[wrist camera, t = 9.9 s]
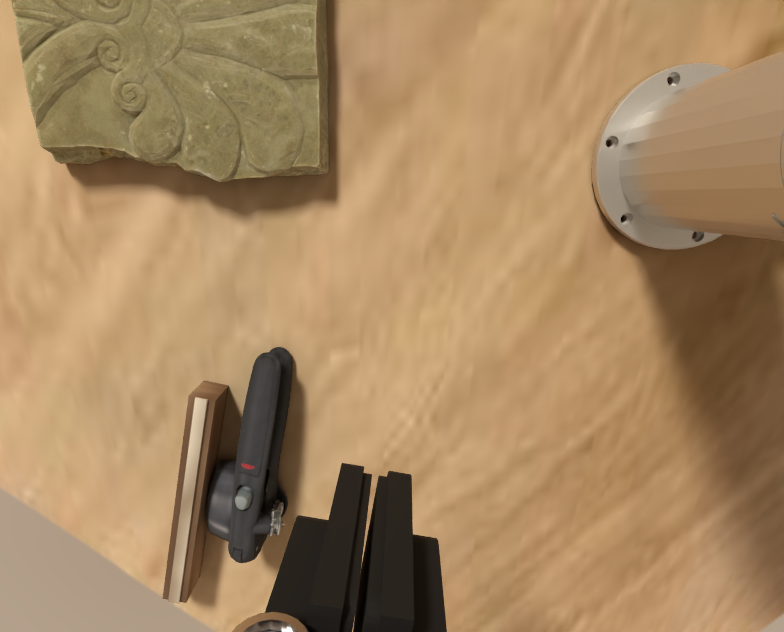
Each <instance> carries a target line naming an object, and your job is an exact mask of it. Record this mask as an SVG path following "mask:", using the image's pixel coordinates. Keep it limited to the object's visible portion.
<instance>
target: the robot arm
mask: <svg viewBox="0 0 784 632" xmlns="http://www.w3.org/2000/svg"><path fill="white" fill-rule="evenodd" d="M667 79H669V81H670V82H669V84H668V82H667ZM606 140H608V141H609V142H610V145H609V147H607V146H606ZM592 183H593V188H594V193H595V197H596V199H597V202H598V204H599V206H600V209H601V211H602V212H603V214H604V215H605V217H606V218H607V220H608V221H609V223H610V224H611V225H612V226H613V227H614V228H615V229H616V230H618V231H619V232H620V233H621V234H622V235H624V236H625V237H627V238H629V239H630V240H632V241H634V242H636V243H639V244H642V245H645V246H648V247H653V248H658V249H667V250H681V249H687V248H693V247H697V246H700V245H703V244H706V243H709V242H711V241H713V240H715V239H717V238H719V237H720V236H722V235H724V234H726V235H734V236H743V237H752V238H760V239H769V240H778V241H784V51H781V52H778V53H776V54H773V55H770V56H768V57H765V58H762V59H760V60H757V61H754V62H752V63H749V64H746V65H744V66H741V67H738V68H736V69H733V70H731V69H729V68H726V67H724V66H721V65H716V64H709V63H690V64H682V65H679V66H675V67H671V68H668V69H665V70H663V71H661V72H658V73H656V74H654V75H652V76H650V77H648V78H647V79H645V80H644V81H642V82H640V83H639V84H637V85H636V86H634V87H633V88H632V89H631V90H630V91H629V92H628V93H626V94H625V95H624V96H623V97H622V98H621V99H620V100H619V102H618V103H617V104H616V105H615V107H614V108H613V109H612V110H611V112H610V113H609V115H608V117H607V118H606V120H605V122H604V124H603V125H602V127H601V129H600V132H599V135H598V138H597V141H596V143H595V147H594V153H593V159H592ZM622 215H623V216H624V220H623V221H622V222H621V217H622ZM693 233H694V235H693V237H692V234H693ZM363 471H364V467H363V466H357V465H351V464H345V463H342V465H341V469H340V473H339V477H338V482H337V486H336V490H335V495H334V499H333V503H332V507H331V512H330V516H329V520H323V519H317V518H311V517H305V516H299V515H298V516H297V518H296V521H295V524H294V527H293V530H292V533H291V536H290V539H289V542H288V545H287V548H286V551H285V554H284V557H283V560H282V563H281V566H280V569H279V572H278V575H277V578H276V581H275V584H274V587H273V590H272V593H271V596H270V599H269V602H268V605H267V608H266V611H265V613H260V614H257V615H255V616H252V617H250V618H247V619H246V620H245V621H243V622H242V623H241V624H239V625H238V626H236V628H235V629H234V630H233V632H352V628H353V623H354V629H353V632H447V630H446V619H445V608H444V597H443V586H442V576H441V565H440V554H439V544H438V540H437V538H431V537H425V536H419V535H413V529H412V479H411V475H410V474H404V473H399V472H393V471H389V472H388V475H387V477H384V476H379V478H378V482H377V488H376V493H375V498H374V504H373V509H372V514H371V520H370V525H369V530H368V535H367V541H366V546H365V551H364V557H363V562H362V555H363V546H364V538H365V529H366V521H367V512H368V504H369V496H370V487H371V479H372V474H366V473H363ZM361 563H362V567H361ZM360 572H361V573H360ZM355 611H356V612H355ZM354 617H355V621H354Z"/></svg>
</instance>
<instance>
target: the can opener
mask: <svg viewBox="0 0 784 632" xmlns="http://www.w3.org/2000/svg"><path fill="white" fill-rule="evenodd" d="M291 378H292V357H291V355H290V353H289V352H288V351H287V350H286V349H284V348H281V347H276V348H274V349H272V350H271V351H270V352H268V353H263V354H261V355H260V356H258V357H257V359H256V360H255V363H254V366H253V370H252V374H251V378H250V382H249V387H248V392H247V396H246V401H245V406H244V411H243V416H242V422H241V428H240V435H239V442H238V450H237V458H236V461H221V462H220V463H219V464H218V466H217V468H216V470H215V472H214V475H213V477H212V480H211V483H210V487H209V491H208V497H207V506H206V519H207V527H208V529H209V532H211V533H213V534H214V535H216V536H218V537H220V538H222V539H224V540H227V541H229V543H228V549H229V554H230V556H231V558H233V559H234V560H235V561H236V562H239V563H246V562H249V561H252V560H254V559H255V558H256V557H257V555H258V554H259V552H260V550H261V547H262V545H263V543H264V541H265V539H266V537H267V534H269V535H270V536H272V535H273V532H274V533H276V535H277V536H279V534H280V529H281V526H284V525H285V523H283V522H282V517H283V515H284V514H285V511H286V509H287V504H288V501H287V497H286V495H285V493H284V491H283V490H282V488H281V487H280V485H279V483H278V466H279V458H280V452H281V447H282V442H283V437H284V431H285V425H286V419H287V413H288V406H289V399H290V390H291Z"/></svg>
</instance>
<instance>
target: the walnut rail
mask: <svg viewBox="0 0 784 632" xmlns="http://www.w3.org/2000/svg"><path fill="white" fill-rule="evenodd" d="M227 392H228V386H227V385H222V384H217V383H212V382H208V381H203V382H202V383H201V384H200V385H199V386H198V387H197V388H196V389H195V390H194V391H193V392H192V393H191V394H190V395H189V398H188V406H187V414H186V421H185V429H184V437H183V445H182V452H181V460H180V468H179V476H178V483H177V491H176V499H175V507H174V515H173V522H172V530H171V538H170V546H169V553H168V561H167V569H166V577H165V584H164V592H163V599H168V602H173V603H178V604H179V602H184V603H186V602H187V600H188V598H189V596H190V594H191V592H192V590H193V588H194V586H195V584H196V582H197V580H198V578H199V577H200V572H201V565H202V558H203V552H204V545H205V538H206V532H207V519H206V506H207V497H208V491H209V487H210V483H211V480H212V477H213V475H214V472H215V470H216V465H217V458H218V452H219V445H220V438H221V432H222V425H223V418H224V412H225V405H226V398H227Z"/></svg>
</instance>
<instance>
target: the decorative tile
mask: <svg viewBox="0 0 784 632" xmlns="http://www.w3.org/2000/svg"><path fill="white" fill-rule="evenodd" d="M11 1H12V7H13V10H14V13H15V20H16V27H17V33H18V40H19V47H20V52H21V57H22V62H23V68H24V74H25V80H26V86H27V92H28V97H29V102H30V106H31V110H32V113H33V116H34V120H35V124H36V128H37V132H38V137H39V141H40V145H41V147H42V148H44V149H46V150H47V151H49V152H51V153H52V154H53V157H54V159H55V161H57V162H59V163H61V164H64V163H74V164H93V163H95V162H100V161H104V160H108V159H110V158H112V157H119V158H123V157H126V158H130V159H135V160H137V161H143V162H145V161H146V162H148V163H150V164H152V165H155V166H172V167H175V166H181V167H182V168H183V169H184V170H185V171H187V172H190V173H195V174H197V175H199V176H207V177H209V178H211V179H213V180H215V181H218V182H227V181H231V180H233V179H245V178H268V177H272V176H297V175H309V174H310V175H319V174H327V173H328V170H329V110H328V46H327V9H326V0H11Z"/></svg>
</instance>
